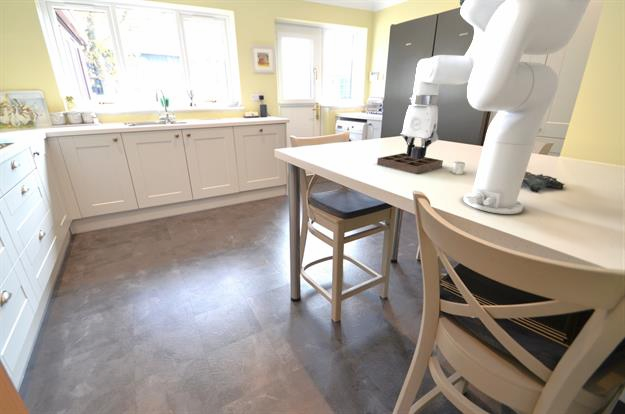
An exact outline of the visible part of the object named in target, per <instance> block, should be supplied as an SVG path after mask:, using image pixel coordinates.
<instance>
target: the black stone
mask: <svg viewBox="0 0 625 414" xmlns="http://www.w3.org/2000/svg"><path fill="white" fill-rule="evenodd" d="M420 147H421V146H417V145H415V146H412V147H411V154H410V158H414V159H418V153H419V148H420Z"/></svg>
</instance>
